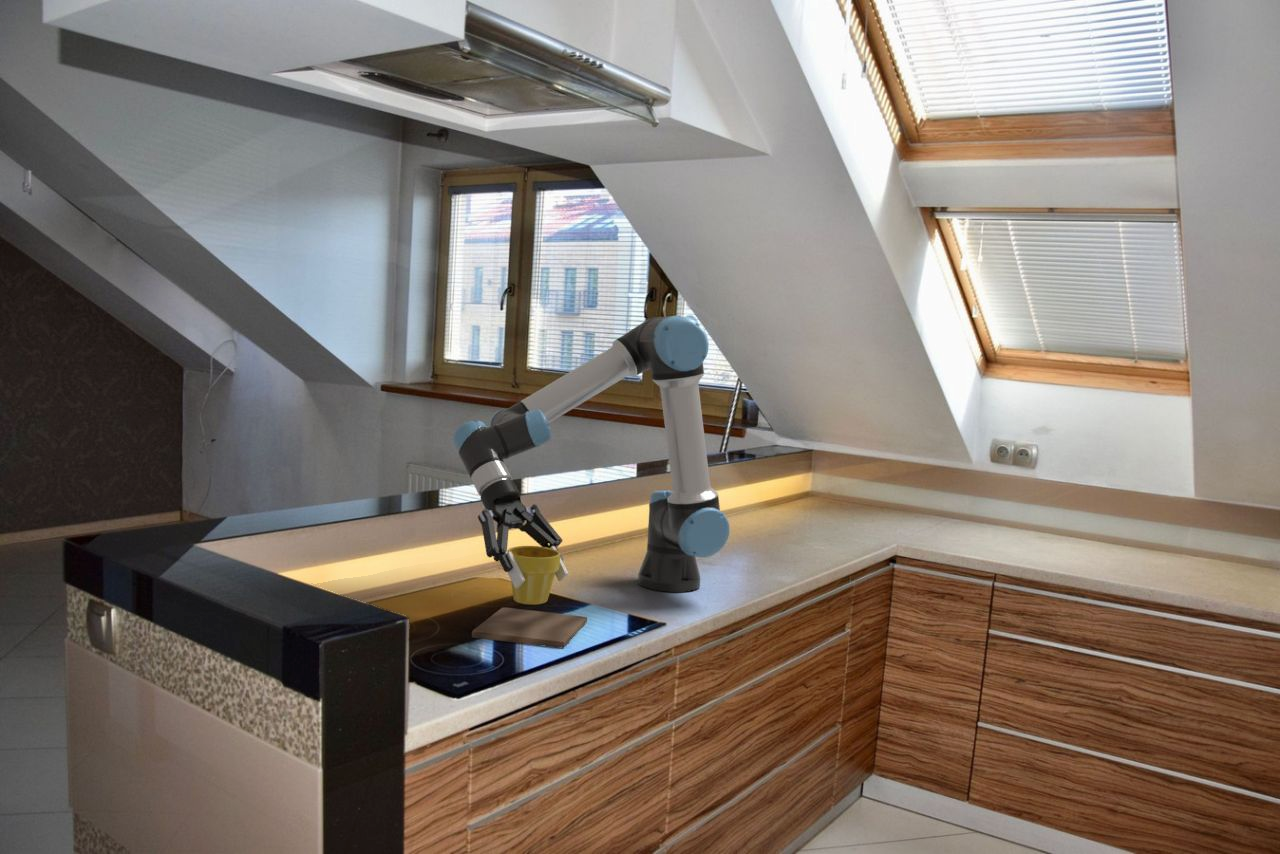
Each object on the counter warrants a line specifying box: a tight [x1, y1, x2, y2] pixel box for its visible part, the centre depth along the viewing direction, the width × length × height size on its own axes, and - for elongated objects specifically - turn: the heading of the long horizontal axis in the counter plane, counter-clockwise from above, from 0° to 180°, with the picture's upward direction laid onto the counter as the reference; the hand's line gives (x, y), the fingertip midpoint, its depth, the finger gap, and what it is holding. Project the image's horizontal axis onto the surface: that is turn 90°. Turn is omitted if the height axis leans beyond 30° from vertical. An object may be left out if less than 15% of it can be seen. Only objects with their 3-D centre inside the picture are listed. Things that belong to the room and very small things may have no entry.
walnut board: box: [471, 606, 588, 649], centre depth 187 cm, size 18×18×1 cm
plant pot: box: [506, 545, 561, 606], centre depth 187 cm, size 10×10×10 cm
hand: (542, 580), depth 184 cm, fingers closed on plant pot, 10 cm apart
